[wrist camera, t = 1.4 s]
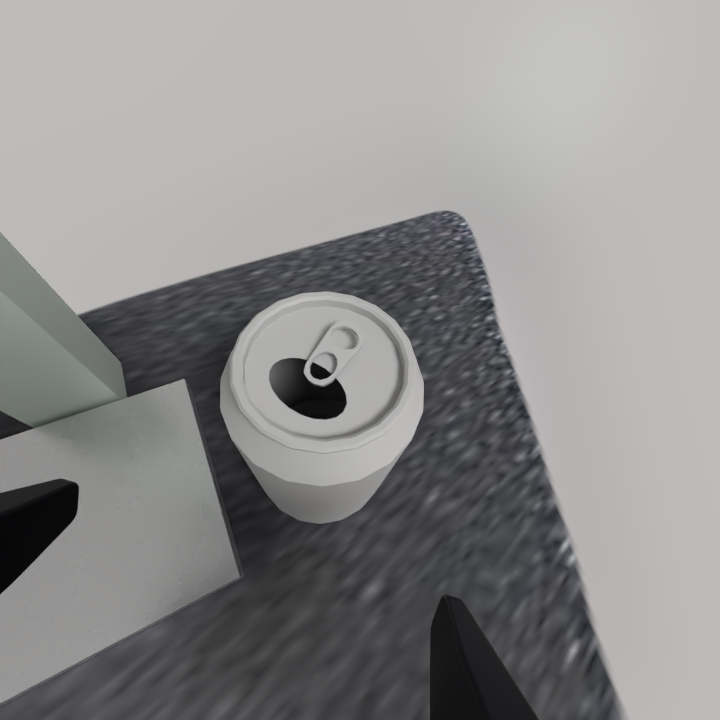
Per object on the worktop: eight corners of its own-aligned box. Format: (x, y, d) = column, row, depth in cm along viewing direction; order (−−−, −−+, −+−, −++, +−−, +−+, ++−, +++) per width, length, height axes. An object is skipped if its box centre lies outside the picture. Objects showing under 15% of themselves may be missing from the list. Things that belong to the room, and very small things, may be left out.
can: (233, 473, 21) (150, 374, 10) (312, 384, 24) (308, 246, 14) (335, 555, 19) (355, 533, 9) (403, 446, 22) (473, 340, 12)
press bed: (245, 576, 18) (239, 576, 17) (-47, 731, 14) (-83, 747, 13) (191, 389, 23) (184, 378, 22) (-34, 466, 19) (-58, 458, 18)
